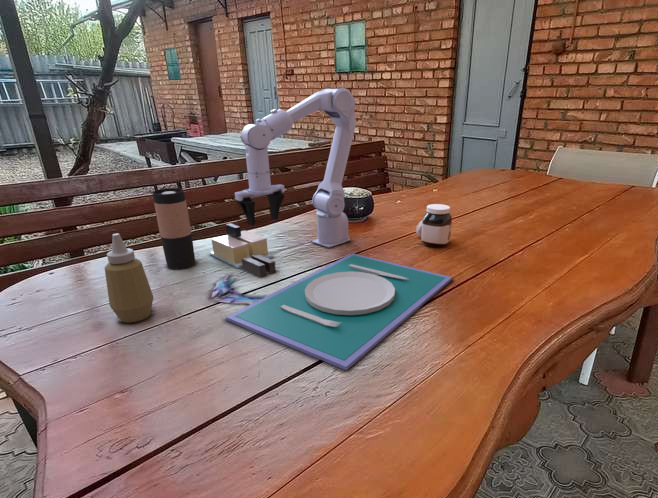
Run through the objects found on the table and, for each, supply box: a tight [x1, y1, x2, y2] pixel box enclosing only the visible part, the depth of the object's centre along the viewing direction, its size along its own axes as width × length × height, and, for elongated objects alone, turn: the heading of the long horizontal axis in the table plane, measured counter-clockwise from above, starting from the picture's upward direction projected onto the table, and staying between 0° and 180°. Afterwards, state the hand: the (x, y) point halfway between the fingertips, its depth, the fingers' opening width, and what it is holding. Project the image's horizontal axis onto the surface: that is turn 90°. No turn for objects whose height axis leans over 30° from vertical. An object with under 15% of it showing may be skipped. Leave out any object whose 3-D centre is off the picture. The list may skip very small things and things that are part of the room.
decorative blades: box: [211, 275, 264, 306], centre depth 99 cm, size 20×1×10 cm
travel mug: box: [151, 187, 196, 270], centre depth 111 cm, size 8×8×20 cm
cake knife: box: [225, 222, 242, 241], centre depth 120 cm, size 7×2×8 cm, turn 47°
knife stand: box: [242, 254, 277, 278], centre depth 111 cm, size 5×8×3 cm, turn 47°
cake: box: [209, 230, 274, 269], centre depth 120 cm, size 11×15×5 cm
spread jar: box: [415, 203, 453, 248], centre depth 130 cm, size 12×11×12 cm
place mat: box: [225, 252, 453, 371], centre depth 96 cm, size 45×30×2 cm
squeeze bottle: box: [104, 232, 154, 324], centre depth 85 cm, size 8×8×18 cm
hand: (263, 221), depth 118 cm, fingers open, 7 cm apart
